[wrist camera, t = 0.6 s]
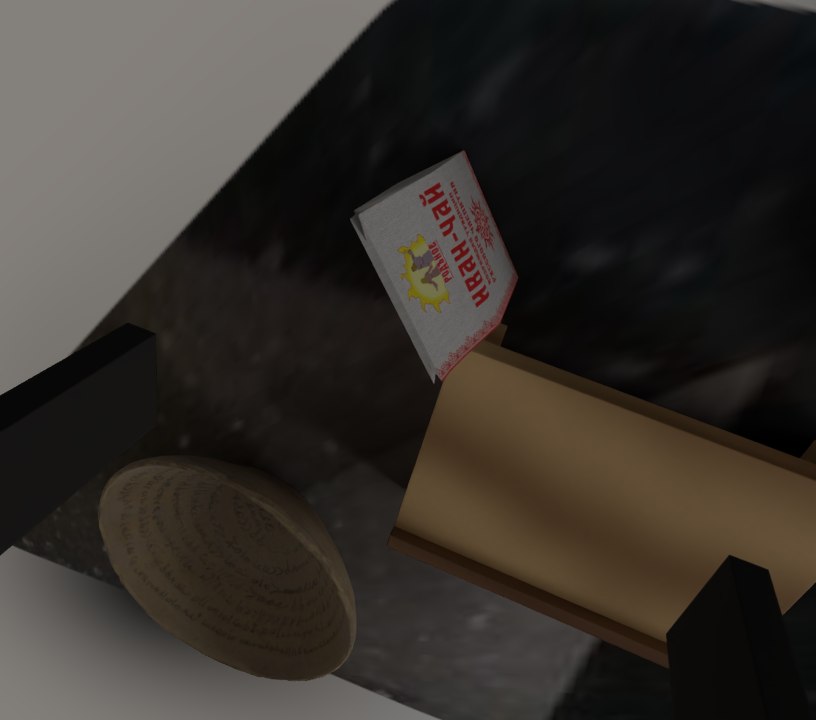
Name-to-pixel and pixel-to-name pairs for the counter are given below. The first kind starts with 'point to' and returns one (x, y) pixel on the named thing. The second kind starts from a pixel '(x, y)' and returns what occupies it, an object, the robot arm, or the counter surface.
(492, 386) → the shelf
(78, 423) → the robot arm
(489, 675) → the counter surface
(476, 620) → the counter surface
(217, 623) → the bowl
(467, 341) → the herbal tea packet
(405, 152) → the counter surface
